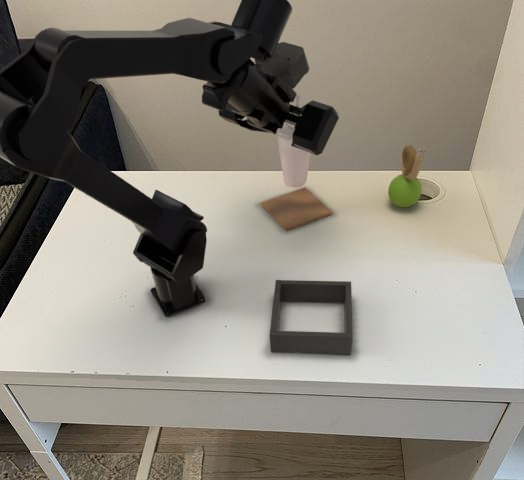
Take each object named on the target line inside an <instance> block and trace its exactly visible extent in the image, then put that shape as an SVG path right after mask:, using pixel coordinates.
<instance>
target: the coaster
mask: <svg viewBox="0 0 524 480" xmlns="http://www.w3.org/2000/svg"><path fill="white" fill-rule="evenodd" d="M260 206H262V207H263V209H265V211H266V212H267V213H268V214H269V215H270V216H271V217H272V218H273V219H274V221H276V222H277V223H278V225H279V226H280V227H281V228H283V230H284V231H285V232H288V231H290V230H293V229H295V228H296V229H297V228H298V227H301V226H304V225H307V224H309V223H312V222H314V221H317V220H320V219H323V218H326V217H328V216H331V215H333V211H332V210H331V209H329V208H328V207H327V206H326V205H325V204H324V203H323V202H322V201H321V200H320V199H318V198H317V196H315V195H314V194H313V193H312V192H311V191H310V190H309V189H308V188H307V187H302V188H299V189H296V190H293V191H291V192H288V193H285V194H282V195H279V196H276V197H273V198H270V199H268V200H265V201H262V202H260Z"/></svg>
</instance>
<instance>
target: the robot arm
mask: <svg viewBox="0 0 524 480" xmlns="http://www.w3.org/2000/svg"><path fill="white" fill-rule="evenodd" d="M292 12H293V6H292V4H291V3H290V1H289V0H241V1H240V3H239V6H238V7H237V10H236V13H235V14H234V17H233V19H232V22H231V24H227V23H224V22H221V21H216V20H213V21H209V22H207V21H205V20H204V21H203V20H201V19H196V18H193V17H186V18H183V19H178V20H175V21H170V22H167V23H166V24H165V25H163V26H162V27H161V28H158V29H157V28H156V29H153V30H64V29H60V28H58V27H48V28H47V27H46V28H45V29H43V30H41V31H40V32H38V33H37V34H36V35H35V37H34V38H33V40H32V41H31V42H30V44H29V45H28V46H27V48H26V50H25V51H23V52H22V53H21V54H19V55H18V56H16V57H15V58H14V59H13V60H11V61H10V62H8V63H7V64H6V65H5V66H4V67H2V68H1V69H0V158H1V159H2V160H4V161H6V162H8V163H9V164H11V165H13V166H15V167H16V168H18V169H21V170H23V171H25V172H28V173H32V174H35V175H38V176H40V177H44V178H46V179H49V180H54V181H60V182H63V183H66V184H67V185H69V186H70V187H73V188H74V189H76V190H77V191H79V192H81V193H83V194H84V195H85V196H88V197H89V198H91V199H93V200H94V201H96V202H98V203H100V204H102V205H103V206H104V207H106V208H108V209H110V210H112V211H113V212H114V213H116V214H118V215H120V216H122V217H123V218H124V219H127V220H129V221H130V222H131V223H132V224H133V225H134V228H135V229H136V230H137V231H138V232H139V233H140V235H139V237H138V240H137V241H136V244H135V246H134V249H133V251H132V254H133V256H134V257H135V258H136V259H137V260H138V262H140V263H143V264H145V265H146V266H148V267H150V271H151V275H152V279H153V282H154V287H152V288H151V289H150V294H151V295H152V297H153V299H154V300H155V303H156V304H157V305H158V307H159V309H160V310H161V312H162V314H163V315H164V317H166V318H168V317H170V316H173V315H176V314H178V313H181V312H184V311H186V310H188V309H192V308H193V307H194V308H195V307H196V306H198V305H199V306H200V305H201V304H203V303H206V301H207V299H206V296H205V295H204V293H203V291H202V290H201V289H200V287H199V286H198V284H197V283H196V280H195V276H194V275H196V274H197V273H199V272H200V271H202V270H203V268H204V264H205V257H206V248H207V243H208V241H207V239H208V238H207V232H208V227H207V225H206V224H205V223H204V222H203V220H204V218H205V216H204V215H201V214H199V213H198V212H195V211H194V210H192V209H191V208H190V206H189V205H187V204H186V203H184V202H182V201H180V200H178V199H176V198H173V197H172V196H170V195H169V194H166V193H164V192H162V191H160V190H158V189H155V190H154V193H153V195H152V196H151V197H152V198H151V197H150V196H148V195H147V194H145V193H144V192H143V191H141V190H140V189H138V188H137V187H135V186H133V184H131V183H129V182H128V181H126V180H125V179H123V178H122V177H121V176H119V175H118V174H116V173H115V172H114V171H112V170H110V169H108V168H107V167H106V166H104V165H103V164H101V163H100V162H99V161H97V160H95V159H94V158H93V157H91V156H90V155H88V154H87V153H85V152H84V151H83V150H82V149H81V148H80V147H79V145H78V143H77V141H76V140H75V138H74V137H73V136H72V134H71V133H70V132H69V130H70V129H71V127H73V124H74V123H75V122H76V121H75V120H76V118H77V114H78V110H79V106H80V101H81V97H82V96H81V95H82V91H83V90H84V88H85V87H86V85H87V84H88V83H89V81H90V80H99V79H101V80H102V79H117V78H130V77H144V76H158V75H161V76H162V75H178V76H183V77H186V78H191V79H195V80H199V81H204V82H206V83H204V84H203V85H202V94H201V103H202V104H203V105H204V106H207V107H210V108H212V109H216V110H217V111H218V116H219V117H220V118H221V119H223V120H224V121H226V122H228V123H230V124H233V125H236V126H239V127H241V128H244V129H247V130H249V131H252V132H260V133H267V134H273V135H276V132H277V130H278V129H282V128H283V125H284V122H287V123H289V124H292V125H295V127H294V129H295V130H294V132H293V134H292V144H291V146H293V147H296V148H298V149H301V150H304V151H306V152H309V153H311V154H312V155H313V156H320V155H321V154H323V152H324V151H325V148H326V146H327V144H328V141H329V140H330V137H331V135H332V133H333V131H334V129H335V127H336V126H337V123H338V121H339V119H340V116H339V112H338V111H337V110H336V109H335V108H334V107H333V106H331V105H328V104H325V103H322V102H320V101H316V100H314V99H312V100H310V101H309V102H307V103H306V104H304V105H302V106H301V107H300V108H299V107H296V105H293V104H290V103H294V102H295V100H296V96H298V93H297V92H296V91H295V90H294V89H295V88H296V87H297V86H298V85H299V83H300V82H301V81H302V79H303V78H304V76H305V75H307V74H308V73H309V71H310V65H309V62H308V58H307V55H306V52H305V48H304V47H303V46H300V45H297V44H293V43H289V42H286V41H281V42H280V40H281V38H282V36H283V33H284V30H285V29H286V26H287V24H288V21H289V19H290V18H291V15H292ZM251 58H252V59H253V60H254V61H253V60H252V59H251ZM42 90H44V93H43V94H42V95H41V97H40V99H39V100H38V101H37V103H36V104H33V103H31V102H30V101H29V100H30V99H31V98H33V97H34V96H36V95H37V94H39V93H40V92H41V91H42ZM297 115H298V116H297ZM300 115H301V116H300Z"/></svg>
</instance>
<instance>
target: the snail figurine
mask: <svg viewBox="0 0 524 480" xmlns="http://www.w3.org/2000/svg"><path fill="white" fill-rule="evenodd" d="M426 150H427V149H426V148H425V147H423V148H419V149H417V150H416V148H415V147H414V146H413V145H412V144H407V145H405V146H404V147H403V149H402V153H401V160H402V161H401V165H400V169H401V174H398V175H397V176H395V177H394V178H393V179H392V180H391V181H390V183H389V185H388V188H387V191H388V192H387V194H388V198H389V200H390V201H391V203H393V205H394V206H397V207H400V208H408V207H411V206H413V205H415V204H416V203H417V202H418V201H419V199H420V198H421V196H422V191H423V187H422V183H421V181H420V179H419V178H418V175H419V173H420V171H421V168H422V164H423V161H424V154H425V152H426ZM417 152H418V153H417Z"/></svg>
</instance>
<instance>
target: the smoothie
mask: <svg viewBox="0 0 524 480" xmlns="http://www.w3.org/2000/svg"><path fill="white" fill-rule="evenodd" d="M295 100H296V102H295V106H296V107H299V108H301V95H296V97H295ZM297 116H298V115H297ZM300 116H301V115H300ZM294 127H295V125H292V124H289V123H287V122H284V125H283V128H282V129H278V130H277V132H276V134H275V136H276V138H277V144H278V145H277V146H278V151H279V158H280V165H281V170H282V177H283V183H284V185H285V186H287V187H289V188H301V187H303V186H305V185H306V184H307V181H308V173H309V167H310V160H311V154H312V153H309V152H306V151H304V150H301V149H298V148H296V147H293V146H291V144H292V134H293V132H294V130H295V129H294Z"/></svg>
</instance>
